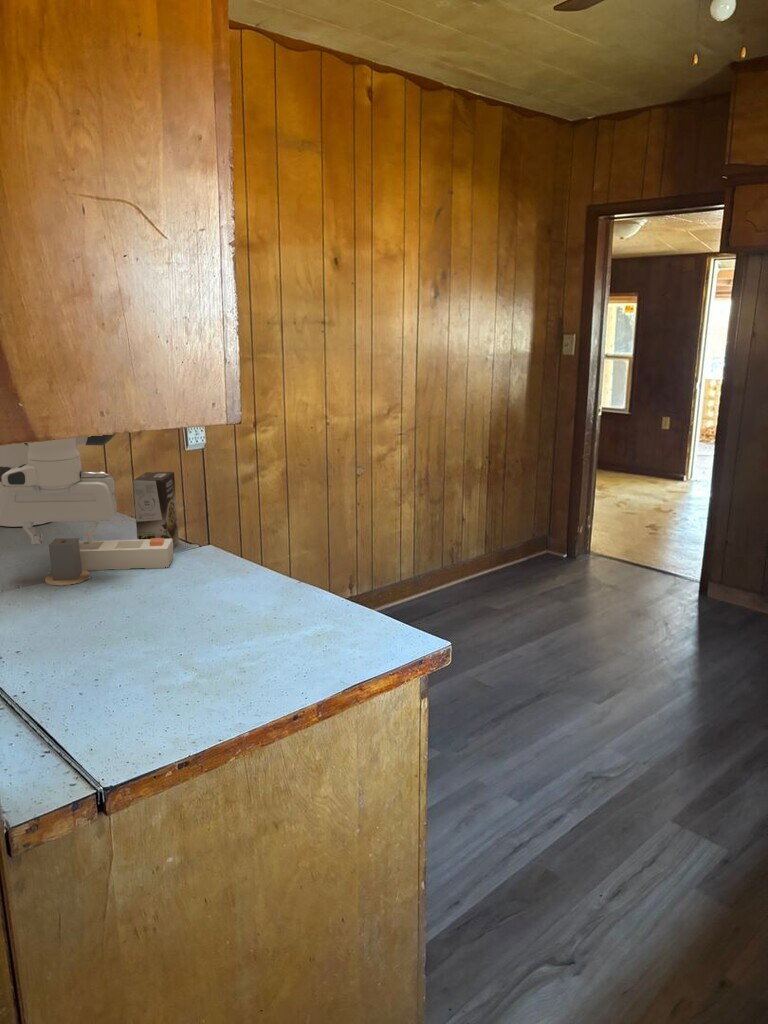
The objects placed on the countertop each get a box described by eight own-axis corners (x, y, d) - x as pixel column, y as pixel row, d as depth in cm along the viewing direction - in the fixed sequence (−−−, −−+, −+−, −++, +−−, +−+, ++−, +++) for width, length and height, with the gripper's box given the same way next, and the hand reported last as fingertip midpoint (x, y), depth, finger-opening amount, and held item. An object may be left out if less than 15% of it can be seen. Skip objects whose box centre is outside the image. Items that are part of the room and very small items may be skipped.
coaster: (52, 572, 147) (52, 570, 147) (95, 570, 148) (94, 569, 148) (39, 586, 139) (39, 584, 139) (84, 585, 140) (84, 582, 140)
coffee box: (167, 555, 158) (162, 480, 154) (137, 554, 158) (131, 479, 154) (180, 542, 167) (175, 471, 163) (151, 542, 167) (145, 470, 163)
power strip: (53, 571, 147) (50, 548, 146) (64, 560, 154) (61, 537, 153) (168, 567, 150) (166, 544, 149) (173, 556, 157) (172, 534, 155)
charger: (59, 573, 145) (55, 538, 143) (82, 572, 146) (78, 537, 144) (52, 580, 141) (48, 544, 139) (75, 579, 142) (72, 543, 140)
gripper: (117, 467, 142) (123, 537, 146) (4, 468, 140) (13, 539, 144) (110, 475, 136) (116, 547, 140) (-9, 476, 134) (1, 549, 138)
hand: (63, 543), depth 142 cm, fingers open, 8 cm apart
